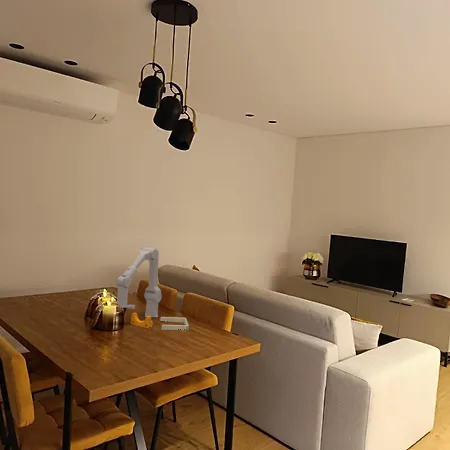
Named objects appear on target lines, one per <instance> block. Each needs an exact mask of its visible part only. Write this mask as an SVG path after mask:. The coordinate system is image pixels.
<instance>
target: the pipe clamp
mask: <svg viewBox="0 0 450 450" xmlns="http://www.w3.org/2000/svg"><path fill="white" fill-rule="evenodd" d="M130 316H131V318H130V325H131V326H132V325H133V326H137V327H141V328H144V329H150V328H153V324H154V321H153V320H152V318H153V317H152V316H146V317H145V319H144V320H140V319H139V317H138V313H137V312H132V313H131V315H130ZM149 327H150V328H149Z"/></svg>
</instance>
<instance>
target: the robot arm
mask: <svg viewBox="0 0 450 450" xmlns="http://www.w3.org/2000/svg"><path fill="white" fill-rule="evenodd" d="M145 261H148V262H149V263H148V264H149V267H148V286H147V287H146V288H145V291H144V295H143V296H144V299H145V301H146V304H145V306H146V307H145V312H144V318H146V316H152V317H151V318H159V315H158V314H159V313H158V311H159V303H160V301H161V300H162V295H163V294H162V289H160V287H159V286H158V280H159V277H158V276H159V250H158V249H157V248H155V247H153V248H152V247H148V246H142V247H141V248H140V249H139V250H138V255H137V257H136V259H135V260H134V262H132V265H129V266H128V267H127V268H126V270H125V271H124V272H123V273H122V275H120V276H119V277H117V279H116V281H115V283H116V285H117V286H116V288H117V298H116V304H118V305H120V306H121V307H122V308H123V309H124V315H125V313H126V312H127V309H131V310H135V308H136V305H135V304H130V303H129V304H128V297H129V287H130V286H131V285H132V281H133V278H134V277H135V275H136V274H137V273H138V268H139V267H140V266H141V265H142V263H143V262H145ZM122 308H121V309H122Z"/></svg>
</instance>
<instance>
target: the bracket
mask: <svg viewBox="0 0 450 450" xmlns="http://www.w3.org/2000/svg"><path fill="white" fill-rule="evenodd" d="M160 321H165V322H164V323H183V324H185V325H181V324H180V325H179V324H161V330H162V331H190V326H189V323H188V319H187V317H174V316H168V317H167V316H160ZM160 321H159V322H160ZM167 321H168V322H167ZM178 329H179V330H178ZM180 329H181V330H180ZM184 329H185V330H184ZM186 329H187V330H186Z"/></svg>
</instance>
